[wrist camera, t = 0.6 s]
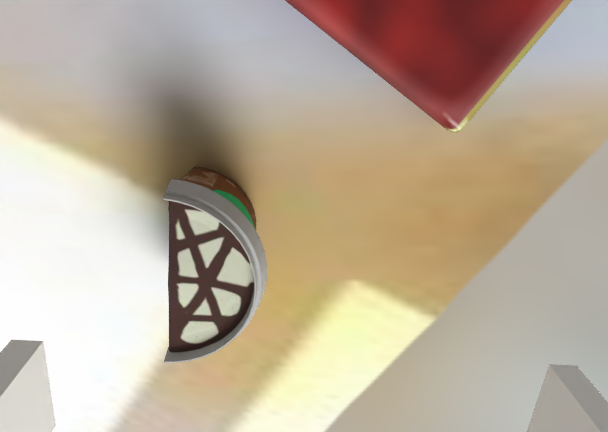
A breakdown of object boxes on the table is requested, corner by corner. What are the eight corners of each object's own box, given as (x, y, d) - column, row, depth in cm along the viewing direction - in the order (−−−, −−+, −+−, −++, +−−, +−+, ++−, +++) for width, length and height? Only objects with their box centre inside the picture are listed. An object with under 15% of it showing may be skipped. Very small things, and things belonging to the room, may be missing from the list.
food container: (265, 296, 41) (258, 375, 32) (192, 290, 40) (163, 369, 31) (277, 154, 36) (273, 199, 27) (195, 147, 36) (163, 189, 27)
